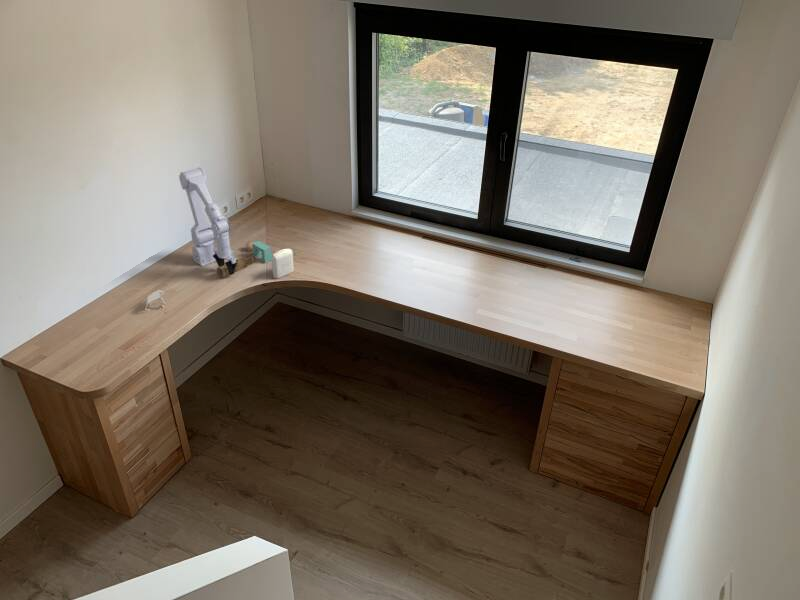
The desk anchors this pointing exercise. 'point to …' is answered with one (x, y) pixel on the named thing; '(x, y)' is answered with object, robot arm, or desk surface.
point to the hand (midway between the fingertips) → (226, 271)
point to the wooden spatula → (240, 265)
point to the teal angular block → (262, 251)
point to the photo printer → (282, 263)
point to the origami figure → (154, 298)
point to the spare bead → (249, 246)
